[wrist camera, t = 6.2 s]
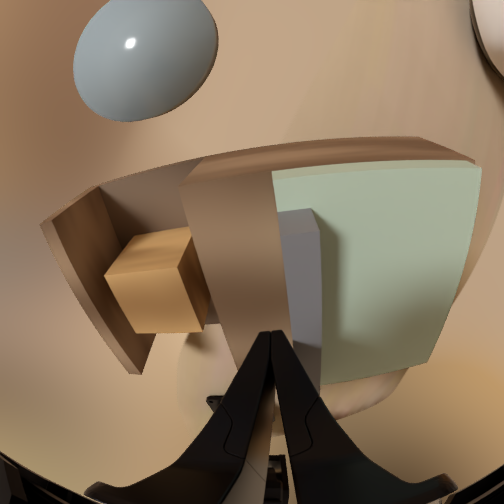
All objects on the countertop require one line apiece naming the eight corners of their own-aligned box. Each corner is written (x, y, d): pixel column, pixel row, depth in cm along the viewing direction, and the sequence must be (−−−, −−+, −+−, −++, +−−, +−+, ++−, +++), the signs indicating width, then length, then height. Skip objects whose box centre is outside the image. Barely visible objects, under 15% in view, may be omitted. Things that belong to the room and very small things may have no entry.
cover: (421, 349, 13) (435, 382, 11) (296, 373, 14) (299, 412, 12) (466, 160, 8) (508, 182, 5) (271, 171, 8) (274, 198, 6)
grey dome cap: (230, 98, 12) (227, 98, 11) (99, 137, 12) (87, 141, 11) (206, -26, 8) (201, -35, 7) (79, 25, 9) (67, 23, 8)
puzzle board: (402, 294, 17) (429, 346, 13) (149, 321, 20) (129, 373, 15) (418, 136, 12) (474, 160, 8) (90, 187, 14) (39, 224, 10)
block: (214, 283, 17) (202, 331, 13) (156, 288, 17) (136, 333, 14) (196, 225, 15) (177, 267, 11) (134, 235, 15) (104, 275, 12)
